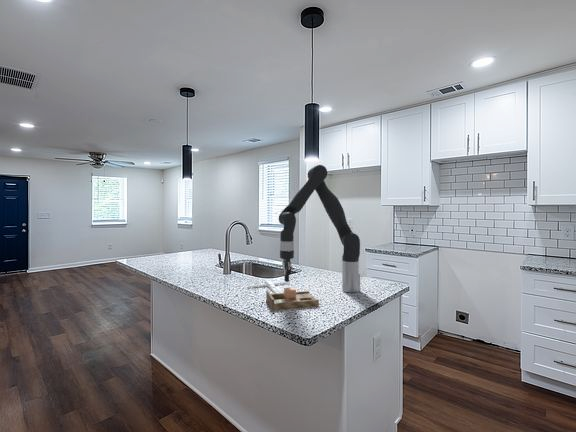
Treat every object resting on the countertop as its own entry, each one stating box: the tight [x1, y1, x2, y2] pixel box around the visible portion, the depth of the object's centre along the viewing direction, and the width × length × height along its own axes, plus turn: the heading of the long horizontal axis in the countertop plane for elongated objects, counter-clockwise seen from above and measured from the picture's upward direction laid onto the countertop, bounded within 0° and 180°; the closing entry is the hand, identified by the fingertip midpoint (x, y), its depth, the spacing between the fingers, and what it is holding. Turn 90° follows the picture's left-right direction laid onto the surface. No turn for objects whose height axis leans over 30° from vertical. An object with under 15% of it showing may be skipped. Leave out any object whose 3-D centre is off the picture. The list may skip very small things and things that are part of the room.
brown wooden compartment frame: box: [265, 290, 320, 311], centre depth 153 cm, size 23×16×5 cm
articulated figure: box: [247, 279, 291, 294], centre depth 177 cm, size 27×4×30 cm
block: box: [283, 286, 297, 298], centre depth 156 cm, size 5×5×4 cm
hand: (286, 281), depth 163 cm, fingers closed
